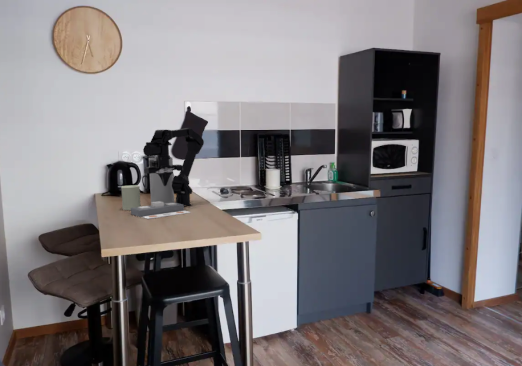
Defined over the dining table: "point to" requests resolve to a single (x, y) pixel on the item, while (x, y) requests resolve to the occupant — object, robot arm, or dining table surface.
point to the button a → (143, 207)
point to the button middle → (157, 204)
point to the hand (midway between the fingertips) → (164, 186)
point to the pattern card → (166, 214)
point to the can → (130, 197)
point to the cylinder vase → (161, 187)
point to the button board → (157, 210)
